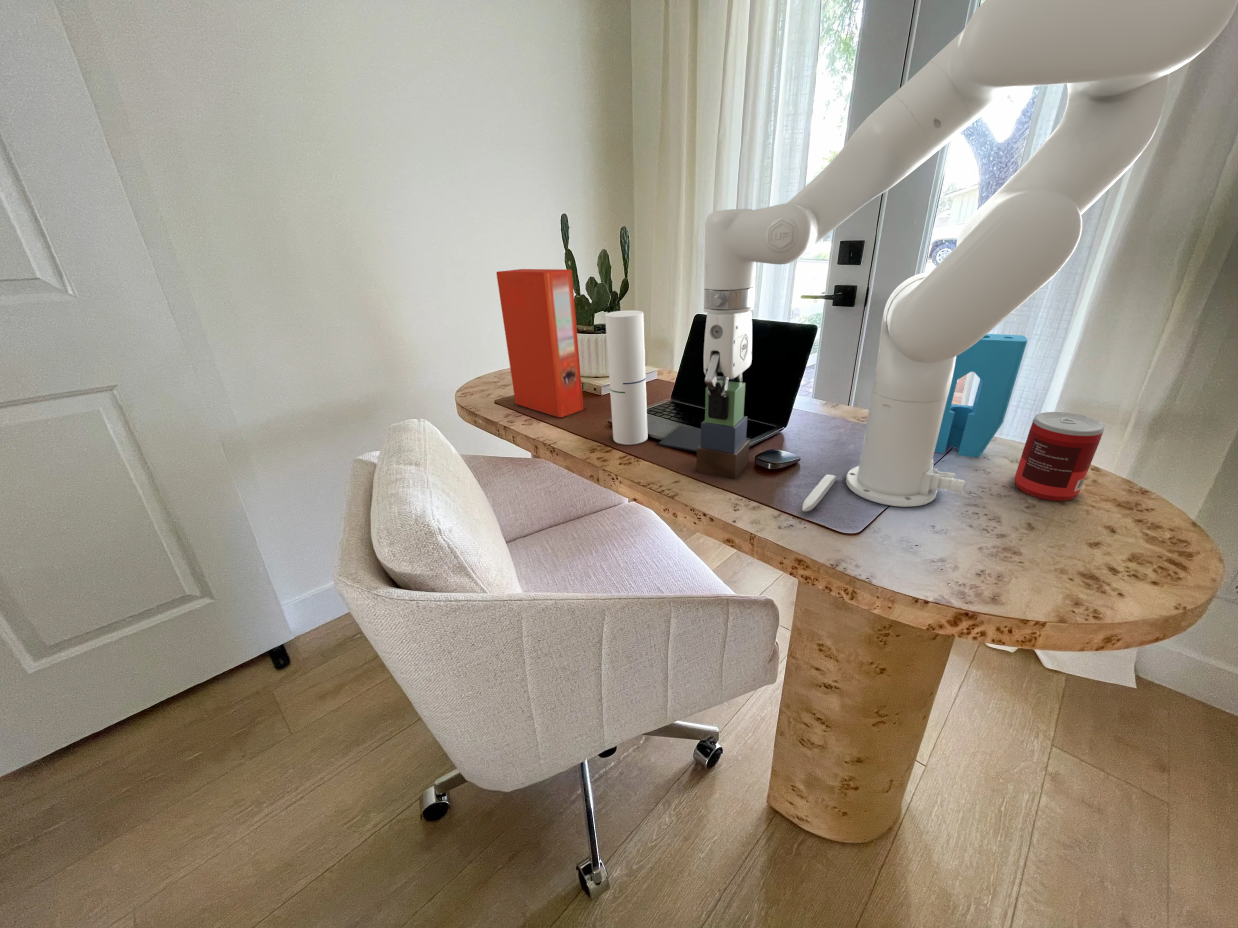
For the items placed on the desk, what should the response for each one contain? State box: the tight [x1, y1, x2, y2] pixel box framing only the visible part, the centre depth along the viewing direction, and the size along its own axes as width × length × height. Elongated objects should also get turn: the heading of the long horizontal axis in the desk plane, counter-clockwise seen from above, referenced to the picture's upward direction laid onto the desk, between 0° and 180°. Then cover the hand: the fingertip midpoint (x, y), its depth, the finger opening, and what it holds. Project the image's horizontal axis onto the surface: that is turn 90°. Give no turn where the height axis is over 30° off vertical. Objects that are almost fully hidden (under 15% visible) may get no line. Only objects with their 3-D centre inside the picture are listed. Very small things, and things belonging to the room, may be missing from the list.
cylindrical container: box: [604, 309, 649, 446], centre depth 96 cm, size 7×7×25 cm
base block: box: [696, 439, 751, 480], centre depth 86 cm, size 7×7×4 cm
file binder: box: [496, 268, 584, 419], centre depth 116 cm, size 8×17×32 cm, turn 47°
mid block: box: [700, 415, 748, 453], centre depth 84 cm, size 6×6×4 cm
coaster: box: [657, 425, 701, 453], centre depth 99 cm, size 10×10×1 cm
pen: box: [801, 473, 837, 512], centre depth 75 cm, size 2×14×2 cm, turn 142°
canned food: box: [1014, 411, 1105, 502], centre depth 72 cm, size 8×8×11 cm
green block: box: [704, 380, 746, 427], centre depth 82 cm, size 5×5×6 cm
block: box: [934, 333, 1029, 458], centre depth 84 cm, size 12×5×20 cm, turn 59°
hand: (724, 411), depth 82 cm, fingers open, 5 cm apart
